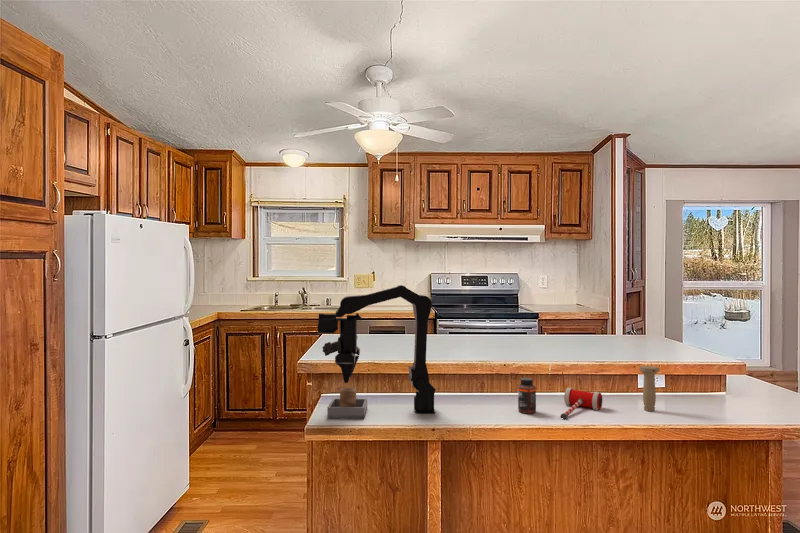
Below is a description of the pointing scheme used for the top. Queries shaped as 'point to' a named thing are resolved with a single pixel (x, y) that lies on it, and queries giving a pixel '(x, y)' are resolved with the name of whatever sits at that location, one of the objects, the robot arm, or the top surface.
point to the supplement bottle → (527, 396)
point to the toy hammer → (581, 400)
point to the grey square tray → (347, 409)
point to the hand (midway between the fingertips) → (347, 379)
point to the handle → (649, 386)
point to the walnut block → (348, 397)
